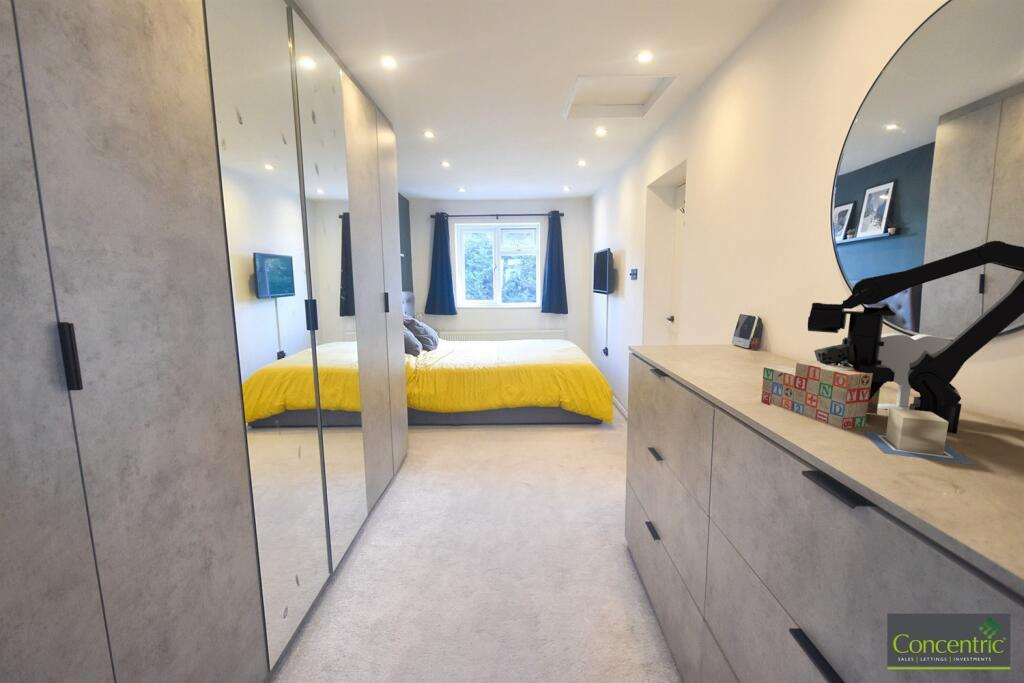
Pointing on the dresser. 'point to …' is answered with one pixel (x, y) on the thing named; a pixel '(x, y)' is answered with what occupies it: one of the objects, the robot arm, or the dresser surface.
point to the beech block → (916, 431)
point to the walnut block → (873, 403)
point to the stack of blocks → (820, 392)
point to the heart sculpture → (905, 360)
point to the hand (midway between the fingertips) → (855, 403)
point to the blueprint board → (889, 448)
